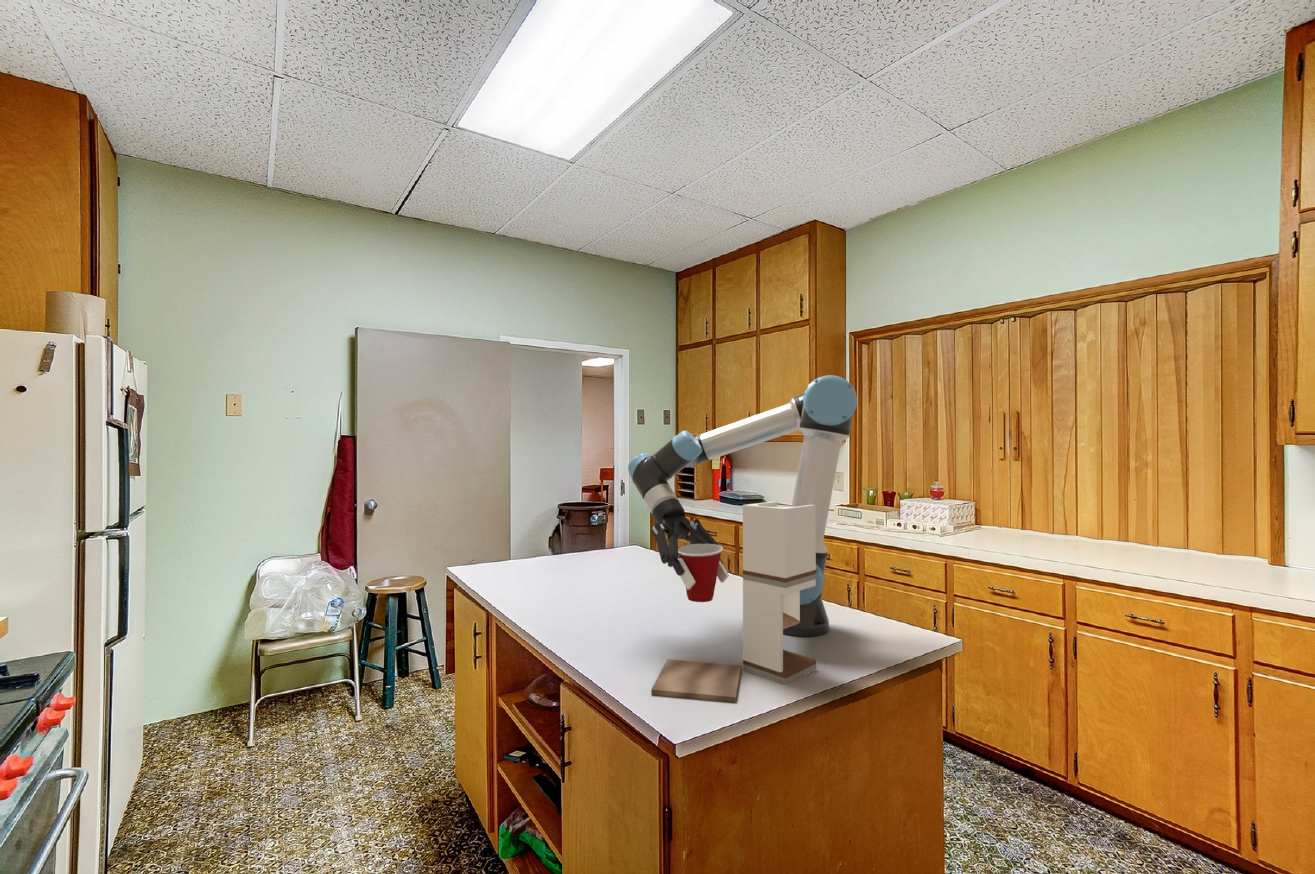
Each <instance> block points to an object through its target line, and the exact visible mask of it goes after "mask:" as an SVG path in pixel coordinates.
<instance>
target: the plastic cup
mask: <svg viewBox="0 0 1315 874" xmlns="http://www.w3.org/2000/svg"><path fill="white" fill-rule="evenodd" d="M719 545H720V544H719ZM719 545H715V544H692V543H691V544H687V545H686V544H685V545H682V546H680V547H679V546H678V559H680V558H682V559H683V560H684V562H685V564H686V566H687V568H688V569H689V571H690V573H691V575H692V576H693V578H694V580H695V584H694V585H693V586H692V587H691V589H689V590H687V588H686V587H685V590H686V597H687V599H688V601H690V602H695V603H707V602H712V601H713V600H714V595H715V588H716V585H717V578H718V577H717V572H718V566H719V561H720V559H721V556H722V555H721V554H722V552H723V550H724V547H723V546H722V545H720V546H719Z"/></svg>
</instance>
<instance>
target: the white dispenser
mask: <svg viewBox="0 0 1315 874" xmlns="http://www.w3.org/2000/svg"><path fill="white" fill-rule="evenodd" d="M813 586H816V505H806V506H798V507H792V506H787V507H786V506H784V507H783V506H782V507H781V506H780V507H779V506H778V501H769V502H768V501H767V502H766V501H765V502H759V503H758V502H757V503H756V502H755V503H749V504H742V670H743V671H747V672H749V673H752V674H754V675H758V676H760V677H764V678H765V679H769V680H771V681H774V680H775V681H774V682H776V683H777V682H778V683H780V684H783V685H788V684H789V683H791V682H793V681H795V680H797V679H799V678H801V677H800V676H802V677H803V675H804V674H806V673H808V672H810V671H812V670H814V669H816V670H817V659H816V658H811V657H808V656H805V655H801V654H799V653H795V652H792V651H789V650H786V649H784V633H783V629H785V628H788V627H791V626H794V625H797V624H799V623H800V590H803V589H807V588H810V587H813ZM814 671H815V670H814ZM812 672H813V671H812ZM810 673H811V672H810ZM808 674H809V673H808ZM806 675H807V674H806ZM804 676H805V675H804Z"/></svg>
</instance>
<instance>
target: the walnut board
mask: <svg viewBox="0 0 1315 874" xmlns="http://www.w3.org/2000/svg"><path fill="white" fill-rule="evenodd" d="M741 672H742V665H741V664H731V663H718V662H707V661H695V660H683V659H669V658H667V659H666V660H665V663H664V665H663V666H662V669H661V670H660V672H659V674H658V677H657V678H656V680H655V682H654V684H653V686H652V687H651V691H650V692H651V696H658V697H659V696H662V697H670V696H671V697H673V698H681V699H692V700H705V701H713V700H715V702H724V701H730V702H729V703H735V702H737V697H738V696H737V695H738V691H737V690H739V684H740V679H741V674H742V673H741ZM736 696H737V697H736ZM719 700H721V701H719Z"/></svg>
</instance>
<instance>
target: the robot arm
mask: <svg viewBox="0 0 1315 874" xmlns="http://www.w3.org/2000/svg"><path fill="white" fill-rule="evenodd" d="M857 406H858V395H857V392H856V390H855V388H854V386H853V385H852V383H850V382H849V381H848V380H846V379H845V378H843V377H841V376H839V375H833V374H832V375H831V374H830V375H829V374H828V375H823V376H820V377H817V378H816V379H814V380H812V381H811V382H810V383H809V384H808V385H807V387H806V389H805V390H804V392H803V393H802V394H799V395H797V396H794V397H791V398H790V401H789V402H788V403H786V404H783V405H780V406H777V407H774V408H771V409H768V410H765V411H763V412H761V413H757V414H755V415H751V416H748V417H746V418H743V419H740V420H738V421H735V422H732V423H729V424H725V425H723V426H721V427H718V428H715V429H713V430H712V429H711V430H709V431H707V432H704V433H701V434H699V435H698V434H697V435H693V434H692V433H691V432H689V431H688V430H683V431H681V432H680V433H678V434H677V435H674V436H673V437H672V439H671V440H669V441H668V442H667V443H665V445H663V446H662V447H661V448H660V449H658V451H656V452H655V453H653V454H652V455H651V454H650V453H641V454H639V455H638V456H637V455H636V456H634V457H633V458H632V459H631V460H630V461H629V463H628V466H627V470H628V473H629V477H630V478H631V480H632V483H633V484H634V486H635V488H636V489H637V491H638V493H639V495H641V497H642V499H643V501H644V503H645V504H646V506H647V508H648V510H649V511H650V513H651V514H652V517H653V520H654V521H655V524H654V525H653V527H652V528H651V533H652V535H653V536H654V537H655V541H656V546H657V549H658V552H659V556H660V560H661V563H662V564H664V565H665V564H667V567H669V568H673V570H674V572H675V573H676V575H677V576H679V577H680V578H681V581H682V582H683V584H684V587H685V589H686V588H687V590H689V589H691V587H692V586H693V585H694V584H695V580H694V578H693V576H692V575H691V573H690V571H689V569H688V568H687V566H686V564H685V562H684V560H683V559H682V558H679V554H678V548H679V541H678V540H679V539H682V540H685V541H686V542H690V543H691V544H715V545H719V546H721V545H720V544H719V543H718V542H717V541H716V540H715V538H714V537H713V536H712V535H711V534H710V533H709V532H708V531H707V530H706V529H705V527H704V526H703V525H702V523H701V521H700V519H698V518H695V519H694V520H689V519H688V518H687V517H686V512H685V509H684V507H683V505H682V503H681V502H680V500H679V499H678V497H677V494H675V492H674V490H673V489H672V487H671V485H670V484H669V483H668V481H669V480H670V479H672V478H673V477H674V476H676V475H677V474H678V473H679V472H680V471H682V470H683V469H684V468H693V467H696V466H698V465H700V464H702V463H706V462H709V461H711V460H715V459H717V458H719V457H722V456H726V455H729V454H732V453H735V452H738V451H741V450H743V449H746V448H749V447H752V446H755V445H758V444H761V443H764V442H768V441H770V440H774V439H777V438H779V437H782V436H785V435H789V434H791V433H794V432H797V431H800V432H801V434H802V435H803V441H802V447H801V452H800V458H799V463H798V468H797V475H796V480H795V486H794V490H793V492H794V493H793V497H792V502H791V507H798V506H806V505H816V586H813V587H810V588H807V589H803V590H800V623H799V624H797V625H794V626H791V627H788V628H785V629H783V635H784V634H785V635H790V636H795V637H816V636H821V635H824V634H826V633H828V632H829V631H830V621H829V617H828V614H827V610H826V608H825V605H824V601H823V596H822V595H823V593H822V592H823V589H824V586H825V580H824V579H825V570H826V565H827V564H826V563H827V559H828V553H829V549H828V548H827V546H826V545H825V544H824V538H825V532H826V529H827V528H826V526H827V521H828V516H829V511H830V505H831V499H832V494H833V490H834V489H833V488H834V484H835V483H834V482H835V478H836V473H837V467H838V462H839V457H840V451H841V445H842V442H844V441H845V440H847V439H848V438H849V437H850V433H851V429H852V428H851V427H852V422H853V417H854V413H855V411H856V409H857ZM666 535H667V537H666ZM729 576H730V574H729V573H728V571H727V569H726V568H725V566H724V562H723V561H722V559H721V558H720V561H719V566H718V572H717V578H718V580H719V582H720V583H721V584H722V583H725V581H726V580H727V579H728V578H729Z"/></svg>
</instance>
